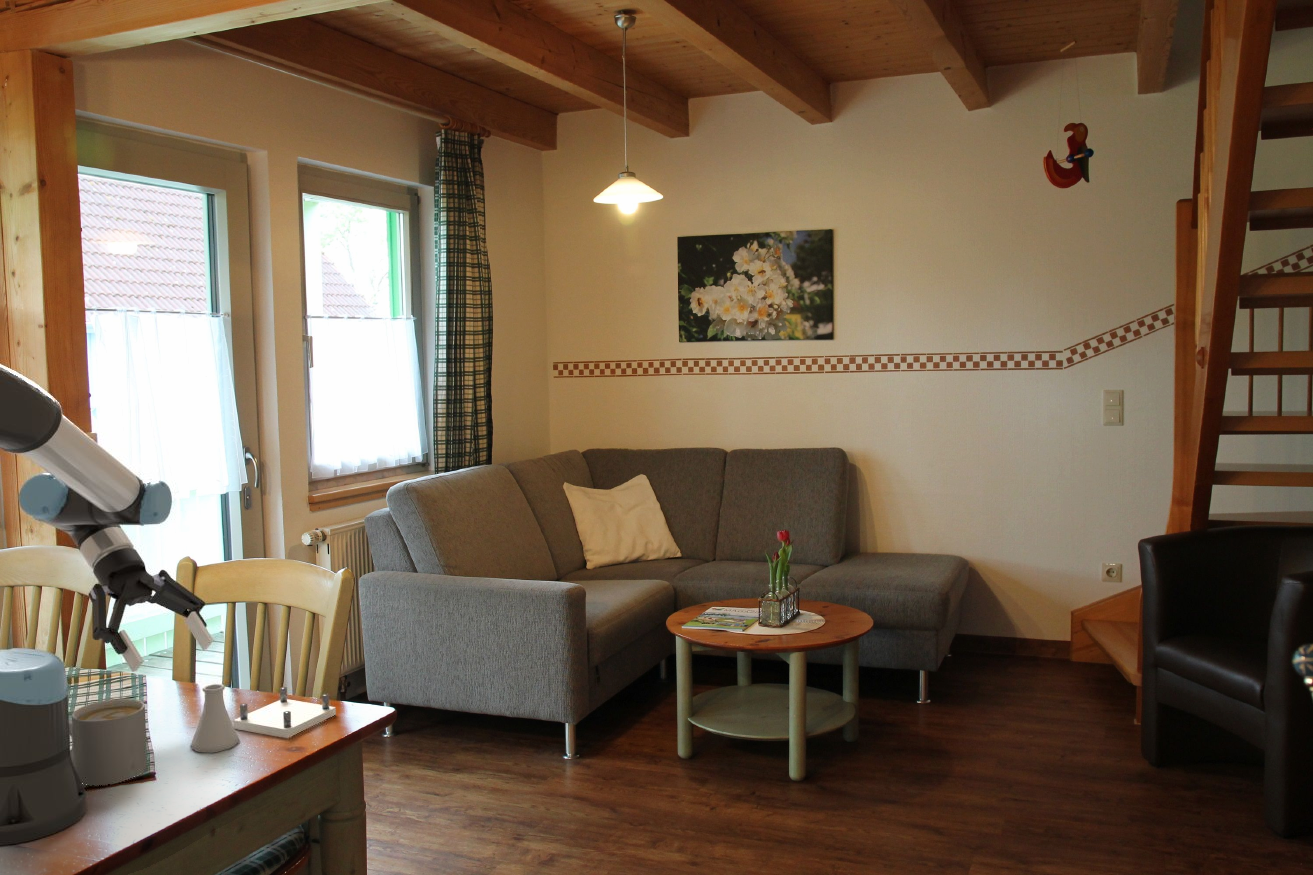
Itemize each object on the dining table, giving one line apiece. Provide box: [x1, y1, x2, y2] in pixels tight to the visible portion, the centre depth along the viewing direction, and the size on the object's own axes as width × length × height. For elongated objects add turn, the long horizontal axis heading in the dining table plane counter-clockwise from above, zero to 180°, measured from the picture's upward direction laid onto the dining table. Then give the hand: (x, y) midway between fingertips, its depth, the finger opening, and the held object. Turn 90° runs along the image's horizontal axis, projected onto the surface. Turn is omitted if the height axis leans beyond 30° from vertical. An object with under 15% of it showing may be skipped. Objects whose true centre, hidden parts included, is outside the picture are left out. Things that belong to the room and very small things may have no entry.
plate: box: [233, 698, 337, 739], centre depth 179 cm, size 12×12×2 cm
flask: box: [189, 683, 241, 754], centre depth 168 cm, size 7×7×10 cm
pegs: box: [239, 686, 330, 728], centre depth 179 cm, size 11×11×2 cm
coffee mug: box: [69, 698, 148, 787], centre depth 157 cm, size 13×10×10 cm
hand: (174, 655), depth 172 cm, fingers open, 13 cm apart
